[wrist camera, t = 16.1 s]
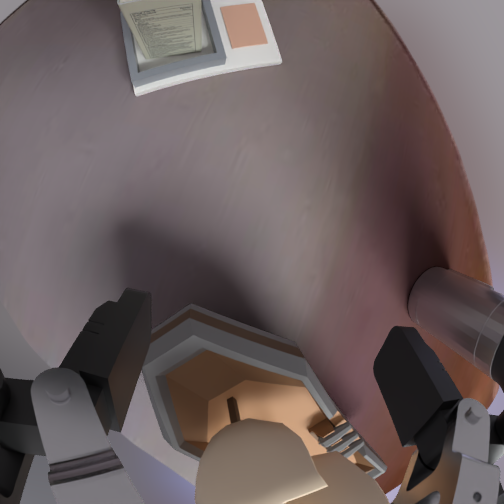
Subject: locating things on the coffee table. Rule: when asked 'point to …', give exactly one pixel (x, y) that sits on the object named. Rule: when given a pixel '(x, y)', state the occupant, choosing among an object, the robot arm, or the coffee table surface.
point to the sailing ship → (253, 416)
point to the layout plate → (209, 47)
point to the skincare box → (164, 26)
